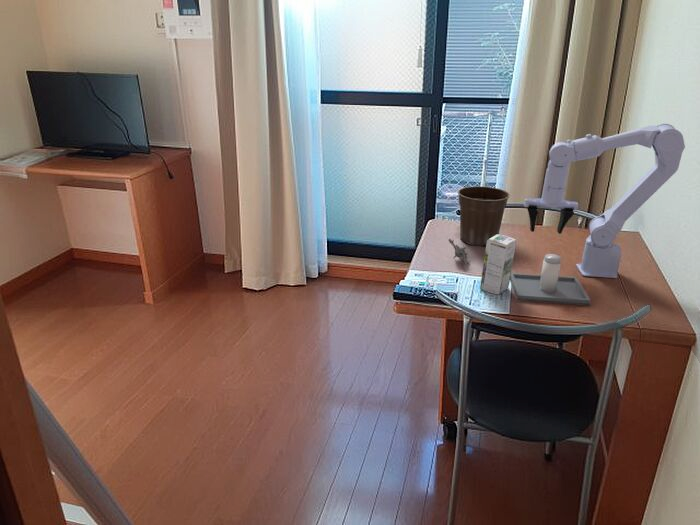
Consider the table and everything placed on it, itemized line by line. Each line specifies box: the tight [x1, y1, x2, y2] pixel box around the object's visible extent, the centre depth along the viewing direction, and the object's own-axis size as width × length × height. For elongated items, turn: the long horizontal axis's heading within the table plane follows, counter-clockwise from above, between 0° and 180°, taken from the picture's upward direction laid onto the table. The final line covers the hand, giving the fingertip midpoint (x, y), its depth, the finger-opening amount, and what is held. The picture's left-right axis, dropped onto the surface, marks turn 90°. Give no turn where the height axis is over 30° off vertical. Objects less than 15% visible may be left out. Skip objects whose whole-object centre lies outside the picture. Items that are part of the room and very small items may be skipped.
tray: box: [509, 272, 591, 306], centre depth 144 cm, size 18×14×2 cm
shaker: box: [539, 253, 562, 292], centre depth 143 cm, size 4×4×9 cm
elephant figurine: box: [448, 238, 472, 267], centre depth 162 cm, size 10×6×9 cm
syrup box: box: [479, 234, 517, 296], centre depth 142 cm, size 6×6×14 cm
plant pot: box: [457, 185, 511, 247], centre depth 176 cm, size 16×16×16 cm
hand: (545, 231), depth 157 cm, fingers open, 7 cm apart
